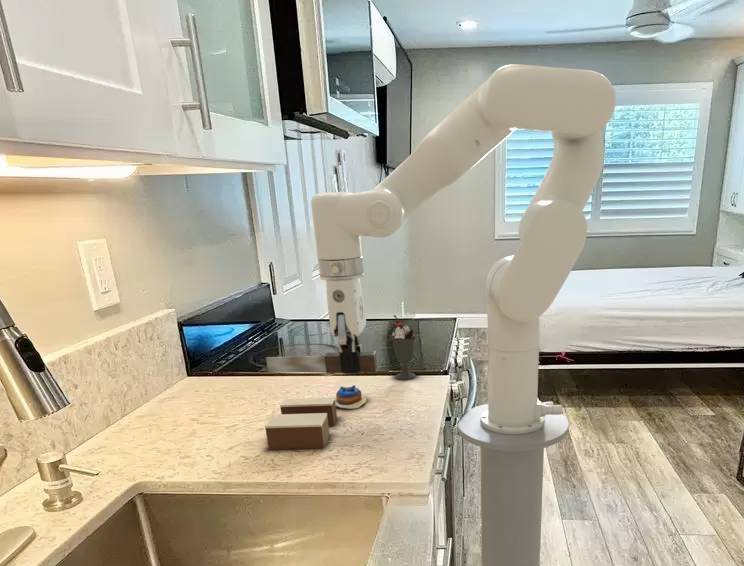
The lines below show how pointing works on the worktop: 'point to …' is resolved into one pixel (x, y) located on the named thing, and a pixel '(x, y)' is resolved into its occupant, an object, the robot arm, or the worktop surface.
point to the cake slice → (311, 407)
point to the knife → (319, 363)
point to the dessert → (349, 397)
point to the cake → (297, 431)
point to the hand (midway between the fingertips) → (352, 369)
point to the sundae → (403, 348)
